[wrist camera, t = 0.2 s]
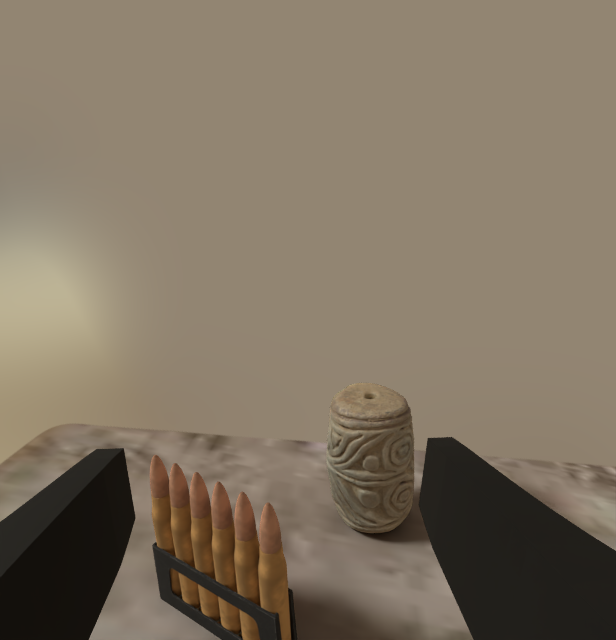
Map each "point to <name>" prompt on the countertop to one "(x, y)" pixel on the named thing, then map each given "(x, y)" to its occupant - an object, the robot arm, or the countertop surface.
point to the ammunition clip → (219, 559)
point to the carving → (371, 457)
